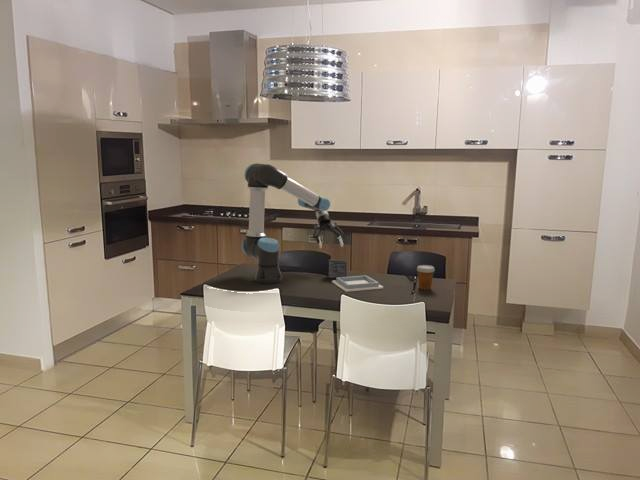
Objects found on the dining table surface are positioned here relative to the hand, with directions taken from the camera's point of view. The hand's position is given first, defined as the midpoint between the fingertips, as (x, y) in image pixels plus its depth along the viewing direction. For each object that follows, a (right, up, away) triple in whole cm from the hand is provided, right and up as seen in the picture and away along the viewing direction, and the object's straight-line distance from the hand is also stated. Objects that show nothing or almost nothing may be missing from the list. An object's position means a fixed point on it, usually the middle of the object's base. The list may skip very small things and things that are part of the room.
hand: (331, 246), depth 304 cm
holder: (+13, -21, -23) cm, 34 cm away
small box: (+3, -18, -7) cm, 20 cm away
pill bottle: (+50, -23, -27) cm, 61 cm away
